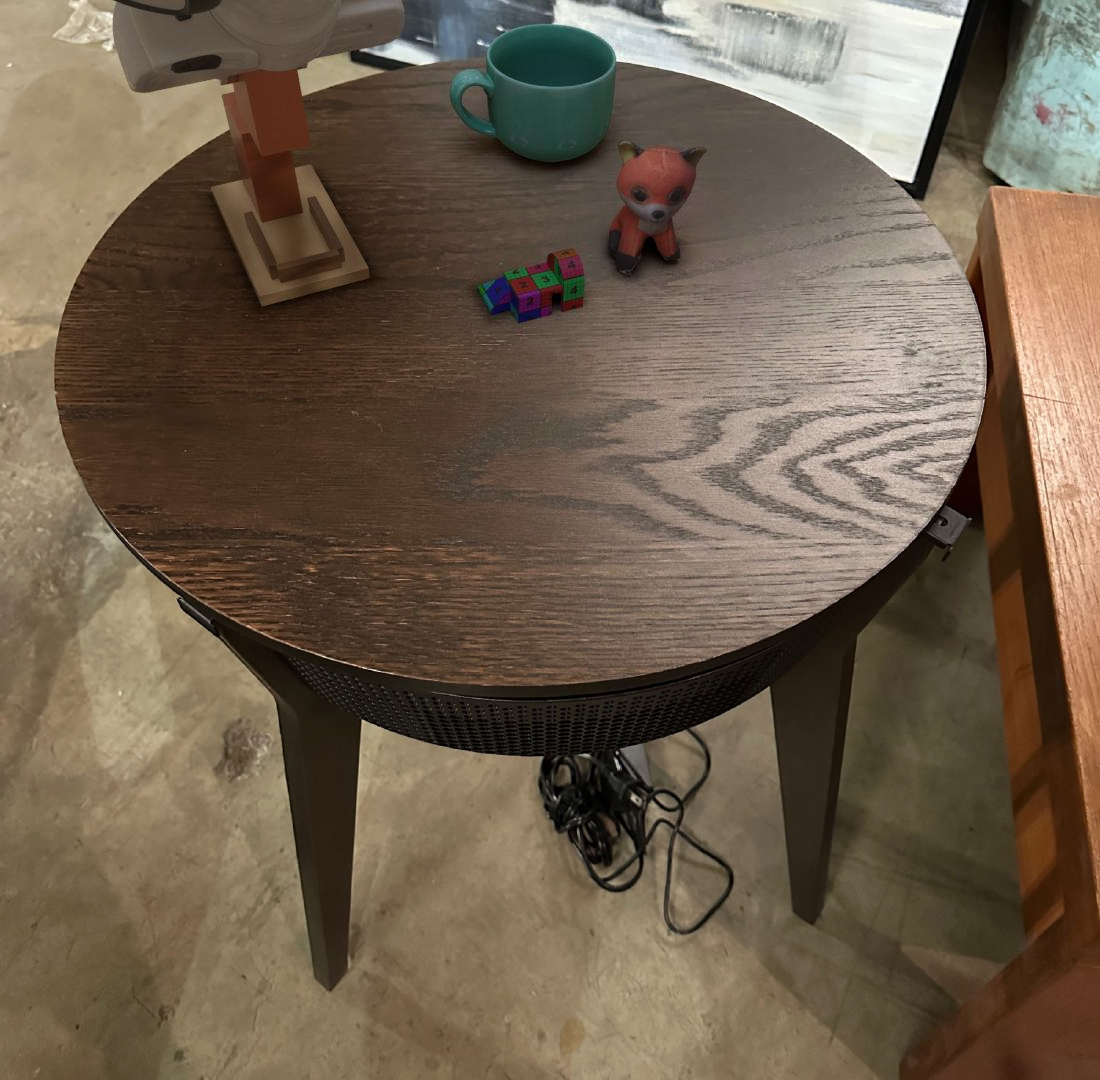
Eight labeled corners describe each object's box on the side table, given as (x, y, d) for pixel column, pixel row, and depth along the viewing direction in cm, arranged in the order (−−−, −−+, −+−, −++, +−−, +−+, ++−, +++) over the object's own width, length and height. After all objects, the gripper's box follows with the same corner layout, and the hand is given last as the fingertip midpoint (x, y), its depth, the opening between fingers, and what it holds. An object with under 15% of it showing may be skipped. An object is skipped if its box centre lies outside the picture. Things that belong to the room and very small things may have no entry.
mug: (593, 105, 112) (599, 17, 104) (623, 171, 104) (631, 81, 97) (442, 120, 109) (436, 31, 102) (462, 188, 102) (457, 98, 94)
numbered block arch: (559, 269, 95) (560, 228, 91) (582, 306, 92) (585, 264, 88) (477, 290, 93) (475, 248, 89) (499, 327, 90) (498, 286, 86)
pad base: (261, 307, 90) (236, 206, 82) (213, 197, 100) (186, 98, 92) (370, 278, 93) (356, 178, 85) (312, 174, 103) (295, 75, 95)
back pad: (262, 156, 81) (236, 44, 74) (239, 112, 85) (213, 0, 78) (311, 145, 82) (291, 33, 75) (286, 102, 86) (265, -9, 79)
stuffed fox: (675, 208, 101) (692, 92, 91) (694, 282, 94) (714, 165, 84) (599, 210, 100) (607, 93, 91) (612, 284, 93) (622, 167, 84)
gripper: (405, -84, 69) (374, 0, 82) (93, -32, 64) (113, 50, 77) (433, 13, 70) (398, 81, 83) (129, 73, 65) (143, 136, 78)
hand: (259, 66), depth 80 cm, fingers closed on back pad, 4 cm apart
